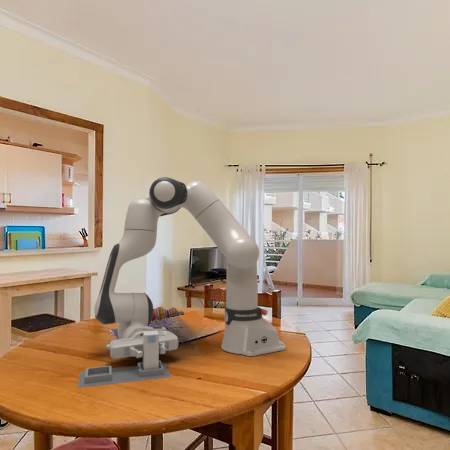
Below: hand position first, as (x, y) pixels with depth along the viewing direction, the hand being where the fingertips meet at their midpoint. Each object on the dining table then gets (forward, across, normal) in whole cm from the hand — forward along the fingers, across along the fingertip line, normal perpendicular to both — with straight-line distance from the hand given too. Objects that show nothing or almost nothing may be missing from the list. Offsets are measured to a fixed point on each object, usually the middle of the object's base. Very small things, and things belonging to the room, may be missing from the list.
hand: (151, 353), depth 103 cm
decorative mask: (-54, +20, +7) cm, 58 cm away
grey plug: (-1, 0, +5) cm, 5 cm away
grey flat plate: (-2, -7, +6) cm, 9 cm away
